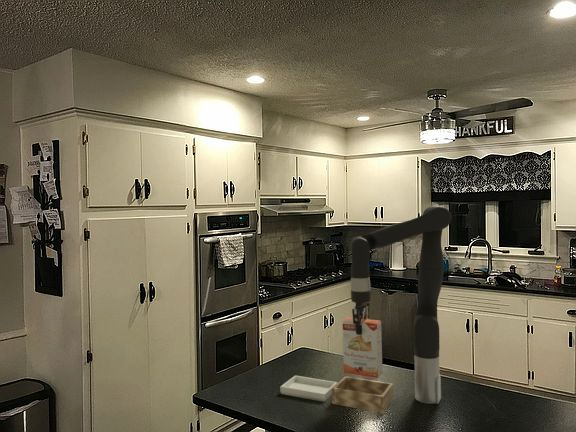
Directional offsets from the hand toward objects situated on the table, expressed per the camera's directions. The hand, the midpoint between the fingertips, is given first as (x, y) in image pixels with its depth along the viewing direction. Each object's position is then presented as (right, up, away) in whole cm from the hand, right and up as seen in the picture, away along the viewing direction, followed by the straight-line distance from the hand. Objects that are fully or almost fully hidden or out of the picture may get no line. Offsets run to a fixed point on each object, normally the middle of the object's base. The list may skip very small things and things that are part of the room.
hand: (361, 332), depth 183 cm
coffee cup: (+6, -27, +20) cm, 34 cm away
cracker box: (+1, -16, 0) cm, 16 cm away
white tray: (-20, -27, +11) cm, 35 cm away
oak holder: (+1, -27, +1) cm, 27 cm away
